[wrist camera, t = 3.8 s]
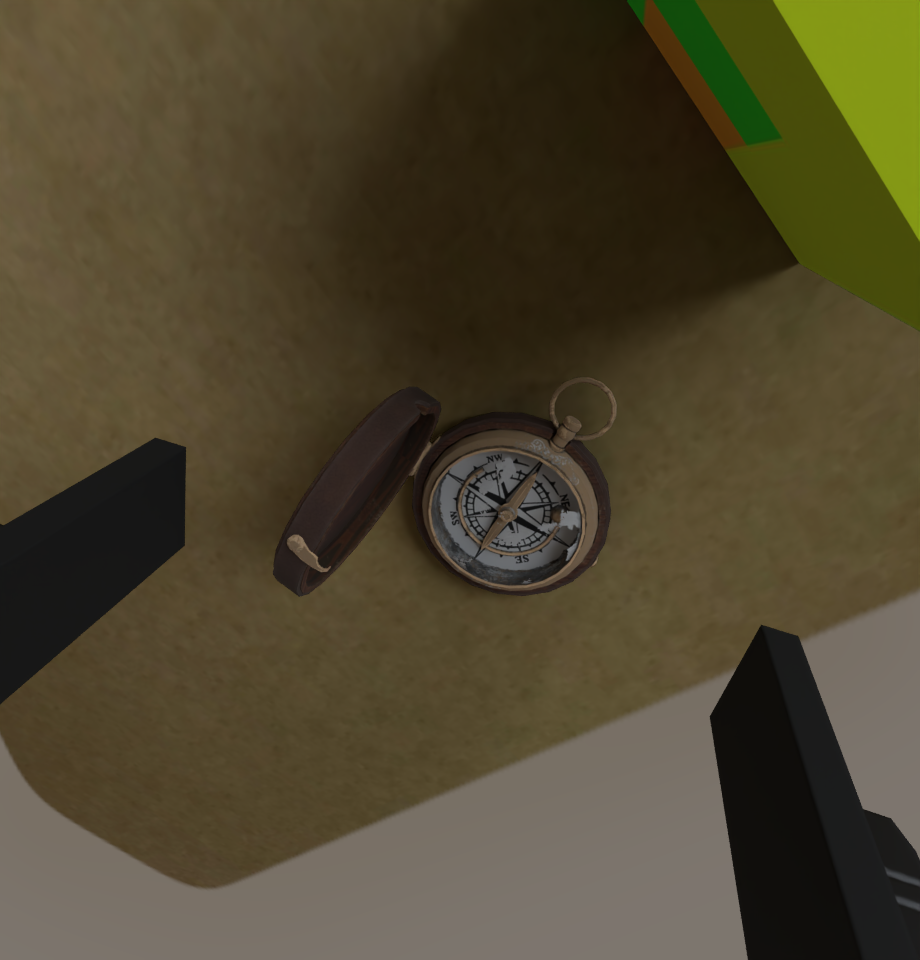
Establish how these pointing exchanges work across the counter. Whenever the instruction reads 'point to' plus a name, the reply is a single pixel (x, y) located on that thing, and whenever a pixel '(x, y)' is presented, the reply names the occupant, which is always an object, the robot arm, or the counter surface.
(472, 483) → the compass
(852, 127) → the puzzle toy
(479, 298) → the counter surface
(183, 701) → the counter surface
